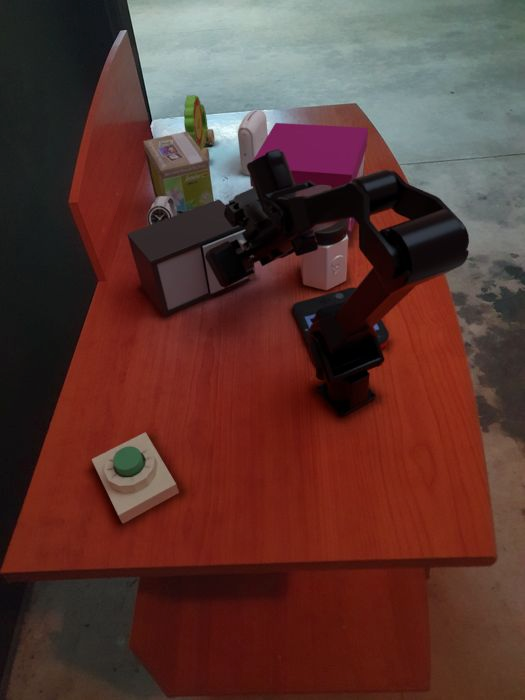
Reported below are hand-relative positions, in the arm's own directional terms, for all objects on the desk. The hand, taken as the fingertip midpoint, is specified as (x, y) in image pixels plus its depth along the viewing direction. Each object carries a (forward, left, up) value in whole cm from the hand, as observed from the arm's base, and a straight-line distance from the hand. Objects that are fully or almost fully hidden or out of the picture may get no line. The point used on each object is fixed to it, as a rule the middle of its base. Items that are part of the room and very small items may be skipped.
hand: (245, 259), depth 99 cm
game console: (-18, -7, -7) cm, 20 cm away
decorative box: (+13, -23, -7) cm, 28 cm away
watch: (+20, +6, -7) cm, 22 cm away
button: (-26, +33, -3) cm, 42 cm away
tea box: (+30, -2, -7) cm, 31 cm away
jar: (-5, -13, -7) cm, 16 cm away
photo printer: (+39, -25, -7) cm, 47 cm away
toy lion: (+52, -17, -7) cm, 55 cm away
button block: (-26, +33, -7) cm, 42 cm away
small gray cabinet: (+7, +7, -7) cm, 12 cm away
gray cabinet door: (0, +2, -5) cm, 6 cm away
